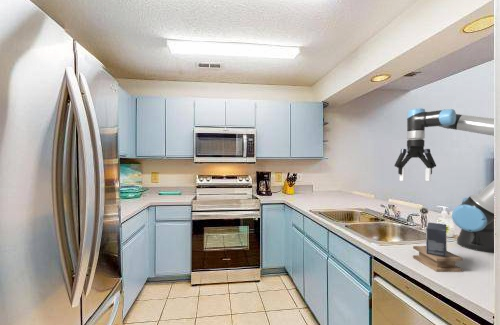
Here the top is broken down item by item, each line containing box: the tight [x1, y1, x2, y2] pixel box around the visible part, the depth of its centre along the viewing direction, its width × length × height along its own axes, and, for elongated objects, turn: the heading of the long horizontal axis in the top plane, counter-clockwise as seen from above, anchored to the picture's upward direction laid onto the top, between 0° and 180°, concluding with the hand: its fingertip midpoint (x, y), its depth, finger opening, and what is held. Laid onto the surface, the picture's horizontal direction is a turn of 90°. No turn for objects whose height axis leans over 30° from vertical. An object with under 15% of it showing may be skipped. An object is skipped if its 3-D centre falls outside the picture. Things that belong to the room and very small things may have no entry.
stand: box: [412, 245, 464, 273], centre depth 100 cm, size 10×13×5 cm
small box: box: [425, 222, 448, 257], centre depth 100 cm, size 11×6×10 cm, turn 142°
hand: (414, 180), depth 128 cm, fingers open, 13 cm apart
